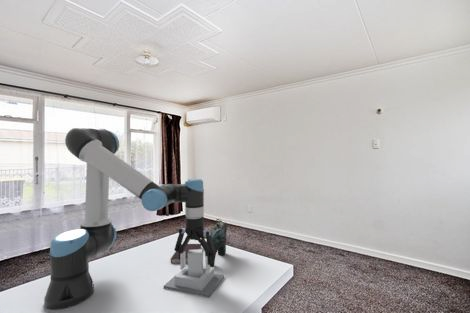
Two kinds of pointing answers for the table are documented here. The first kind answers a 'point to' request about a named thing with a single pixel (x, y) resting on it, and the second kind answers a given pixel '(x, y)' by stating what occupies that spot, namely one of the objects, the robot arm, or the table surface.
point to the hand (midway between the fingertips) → (195, 270)
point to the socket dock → (197, 292)
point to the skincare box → (195, 263)
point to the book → (189, 247)
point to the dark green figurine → (219, 239)
